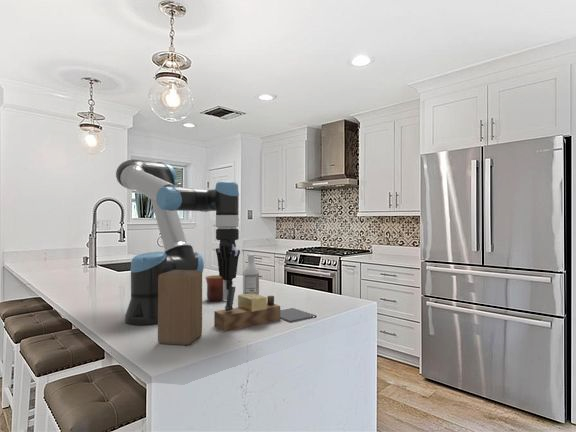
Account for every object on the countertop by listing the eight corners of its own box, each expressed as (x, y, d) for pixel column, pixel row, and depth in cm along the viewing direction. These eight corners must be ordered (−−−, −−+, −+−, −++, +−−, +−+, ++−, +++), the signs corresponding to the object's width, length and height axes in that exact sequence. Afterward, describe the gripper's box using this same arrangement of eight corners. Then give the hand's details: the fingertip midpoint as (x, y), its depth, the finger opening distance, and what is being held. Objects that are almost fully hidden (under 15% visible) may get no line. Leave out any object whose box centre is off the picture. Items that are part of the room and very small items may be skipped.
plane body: (224, 331, 117) (224, 306, 117) (214, 326, 123) (214, 302, 123) (280, 320, 131) (280, 297, 131) (269, 315, 136) (269, 294, 136)
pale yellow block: (251, 311, 122) (251, 299, 122) (238, 306, 129) (238, 295, 129) (266, 309, 126) (266, 297, 126) (252, 304, 133) (252, 293, 133)
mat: (290, 322, 128) (290, 320, 128) (267, 314, 139) (267, 312, 139) (316, 317, 135) (316, 315, 135) (292, 309, 146) (292, 307, 146)
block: (156, 344, 105) (156, 274, 105) (172, 333, 115) (172, 269, 115) (189, 346, 104) (189, 274, 104) (203, 335, 113) (203, 270, 114)
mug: (202, 302, 158) (202, 278, 158) (208, 297, 167) (209, 275, 167) (230, 302, 157) (230, 278, 157) (234, 298, 166) (235, 275, 166)
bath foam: (261, 300, 162) (261, 254, 162) (246, 302, 159) (247, 255, 159) (254, 297, 168) (255, 253, 168) (240, 298, 165) (240, 254, 165)
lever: (227, 312, 121) (231, 287, 119) (224, 308, 123) (228, 284, 121) (232, 311, 122) (236, 286, 120) (229, 308, 124) (233, 283, 122)
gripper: (246, 228, 121) (247, 300, 120) (228, 227, 131) (228, 294, 130) (226, 228, 116) (226, 303, 116) (208, 228, 126) (208, 297, 126)
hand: (227, 299), depth 123 cm, fingers closed
